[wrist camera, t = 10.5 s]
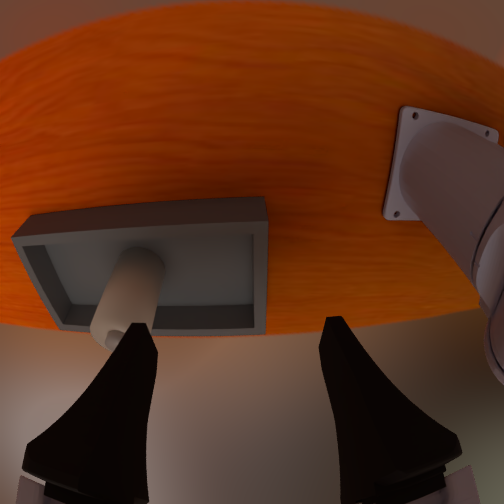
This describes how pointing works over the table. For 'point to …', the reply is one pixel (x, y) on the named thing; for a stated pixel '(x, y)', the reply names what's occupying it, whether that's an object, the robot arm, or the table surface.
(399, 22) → the table surface
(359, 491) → the robot arm
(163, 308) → the trough
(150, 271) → the cell
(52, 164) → the table surface
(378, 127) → the table surface
